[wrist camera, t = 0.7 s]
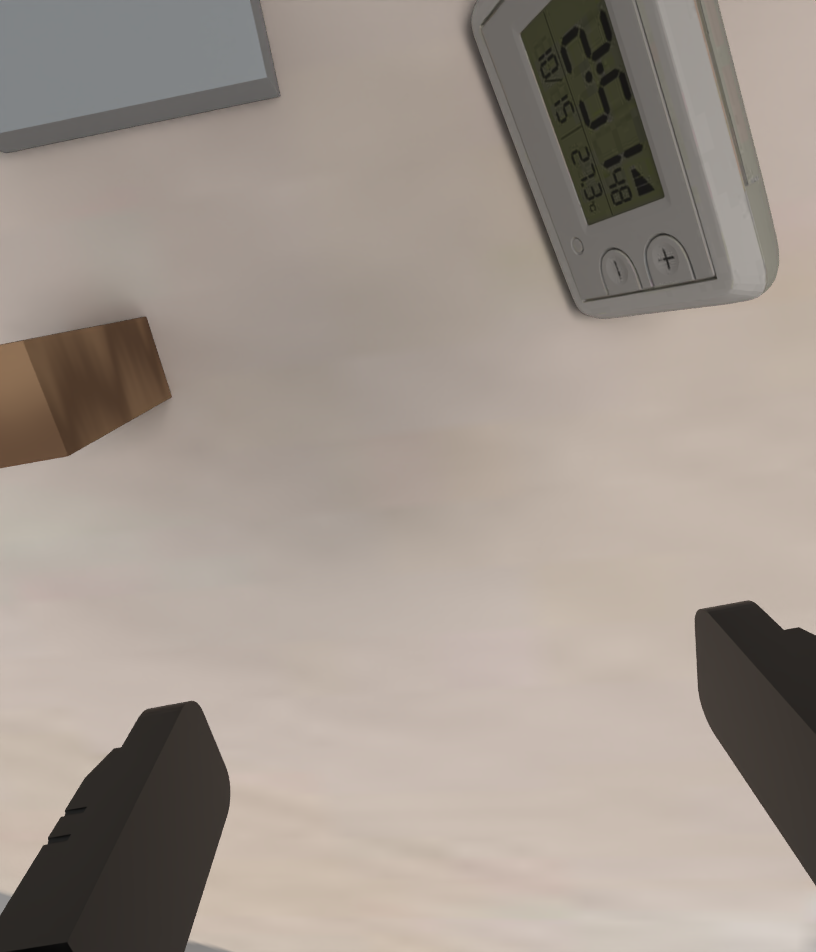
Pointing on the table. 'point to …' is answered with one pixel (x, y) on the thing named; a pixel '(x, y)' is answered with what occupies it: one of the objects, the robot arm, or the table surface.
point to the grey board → (125, 64)
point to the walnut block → (75, 388)
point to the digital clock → (633, 149)
